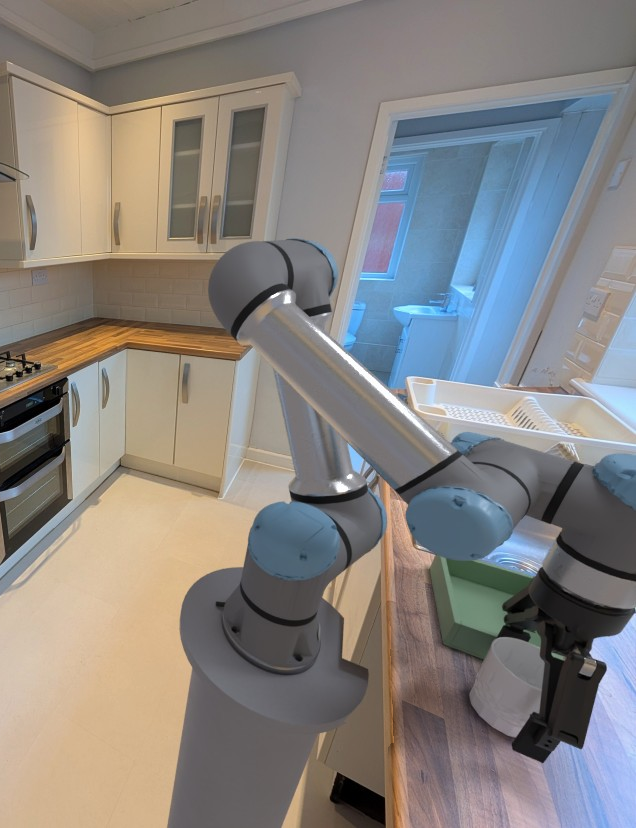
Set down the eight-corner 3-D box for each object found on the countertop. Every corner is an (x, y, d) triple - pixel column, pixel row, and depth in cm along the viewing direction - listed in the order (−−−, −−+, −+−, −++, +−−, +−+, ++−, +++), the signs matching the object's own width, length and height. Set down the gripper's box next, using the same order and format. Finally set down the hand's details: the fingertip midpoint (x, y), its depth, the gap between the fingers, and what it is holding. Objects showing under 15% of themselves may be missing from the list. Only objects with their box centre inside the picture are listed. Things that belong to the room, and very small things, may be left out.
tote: (442, 644, 67) (454, 622, 65) (429, 568, 82) (438, 548, 79) (571, 692, 60) (588, 669, 58) (531, 600, 75) (544, 579, 73)
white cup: (475, 673, 63) (503, 626, 59) (548, 721, 57) (585, 673, 53) (454, 704, 59) (482, 656, 55) (530, 758, 53) (568, 710, 49)
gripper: (708, 700, 36) (590, 826, 45) (588, 533, 56) (522, 643, 65) (584, 658, 40) (497, 783, 49) (512, 515, 59) (459, 622, 68)
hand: (511, 703), depth 57 cm, fingers open, 13 cm apart
